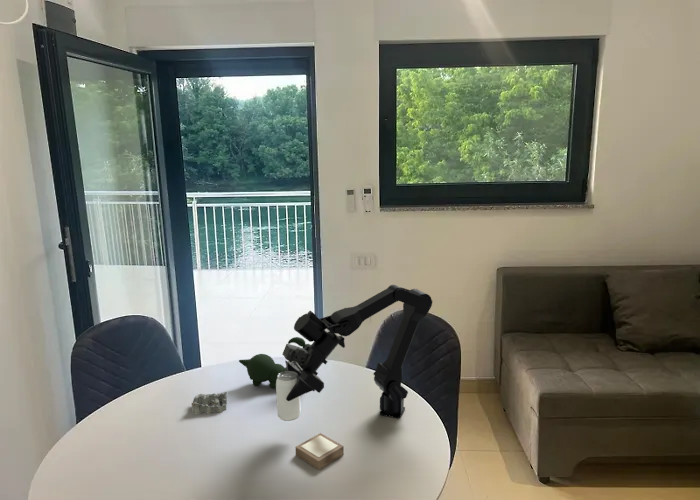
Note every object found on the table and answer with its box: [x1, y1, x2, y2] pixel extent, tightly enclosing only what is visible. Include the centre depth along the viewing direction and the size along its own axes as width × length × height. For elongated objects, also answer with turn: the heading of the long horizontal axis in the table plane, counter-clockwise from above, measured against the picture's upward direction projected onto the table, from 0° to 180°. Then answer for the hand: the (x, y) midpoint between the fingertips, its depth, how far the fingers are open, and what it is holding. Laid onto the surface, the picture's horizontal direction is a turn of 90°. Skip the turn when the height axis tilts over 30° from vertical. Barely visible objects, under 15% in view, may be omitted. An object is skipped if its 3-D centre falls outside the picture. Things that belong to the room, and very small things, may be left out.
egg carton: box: [191, 391, 228, 415], centre depth 159 cm, size 11×8×4 cm
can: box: [275, 371, 302, 422], centre depth 141 cm, size 6×6×12 cm
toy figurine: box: [238, 336, 312, 389], centre depth 172 cm, size 9×19×25 cm
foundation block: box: [294, 432, 345, 471], centre depth 134 cm, size 9×9×3 cm
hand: (283, 394), depth 140 cm, fingers closed on can, 6 cm apart
